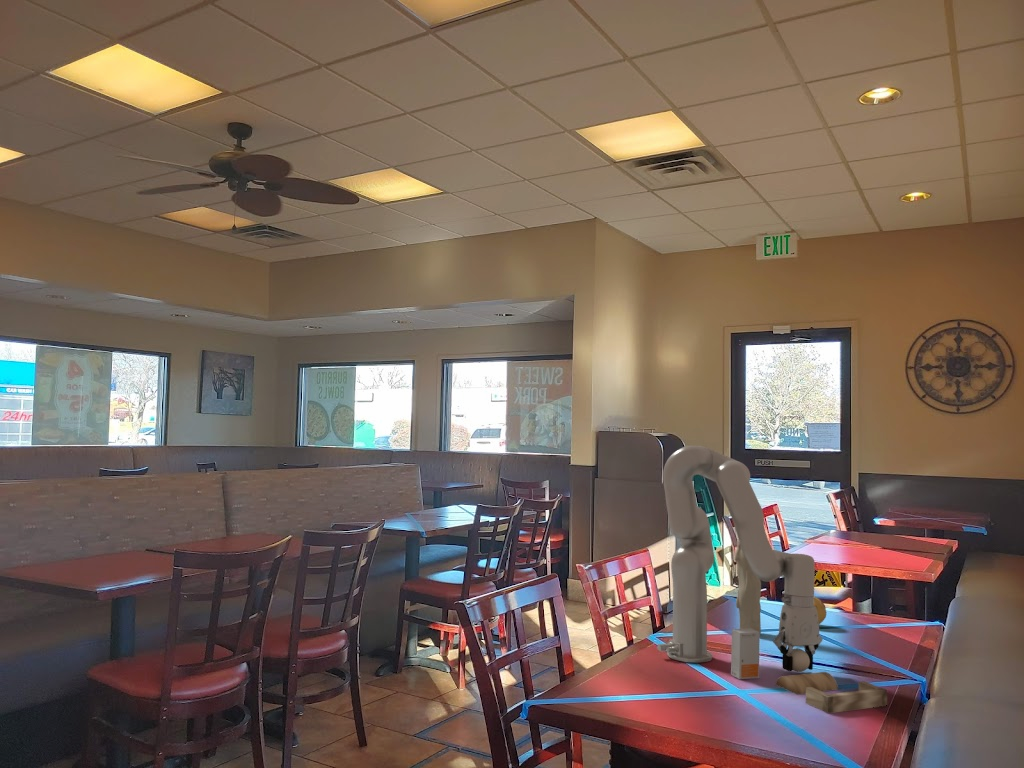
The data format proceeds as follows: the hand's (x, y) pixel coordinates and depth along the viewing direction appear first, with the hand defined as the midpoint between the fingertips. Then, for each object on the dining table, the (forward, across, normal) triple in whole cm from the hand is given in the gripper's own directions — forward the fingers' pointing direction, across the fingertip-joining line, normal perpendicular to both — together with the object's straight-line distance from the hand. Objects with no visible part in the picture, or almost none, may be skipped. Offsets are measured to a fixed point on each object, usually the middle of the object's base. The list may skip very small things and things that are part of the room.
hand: (797, 668), depth 208 cm
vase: (+2, +14, +40) cm, 42 cm away
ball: (-2, 0, 0) cm, 2 cm away
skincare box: (+2, -16, +2) cm, 16 cm away
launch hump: (+6, -6, -10) cm, 13 cm away
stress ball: (+2, +41, +42) cm, 59 cm away
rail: (+1, -6, -23) cm, 24 cm away
